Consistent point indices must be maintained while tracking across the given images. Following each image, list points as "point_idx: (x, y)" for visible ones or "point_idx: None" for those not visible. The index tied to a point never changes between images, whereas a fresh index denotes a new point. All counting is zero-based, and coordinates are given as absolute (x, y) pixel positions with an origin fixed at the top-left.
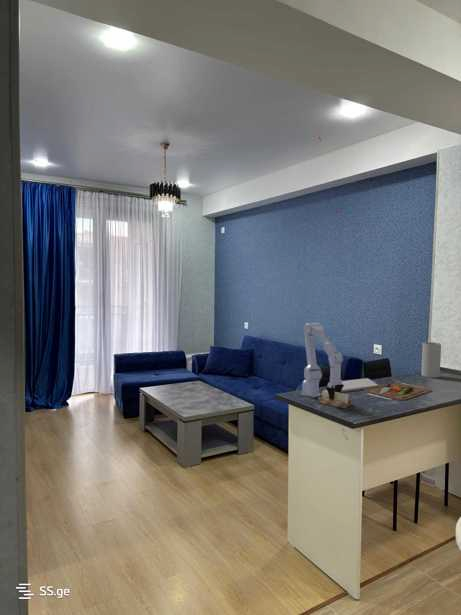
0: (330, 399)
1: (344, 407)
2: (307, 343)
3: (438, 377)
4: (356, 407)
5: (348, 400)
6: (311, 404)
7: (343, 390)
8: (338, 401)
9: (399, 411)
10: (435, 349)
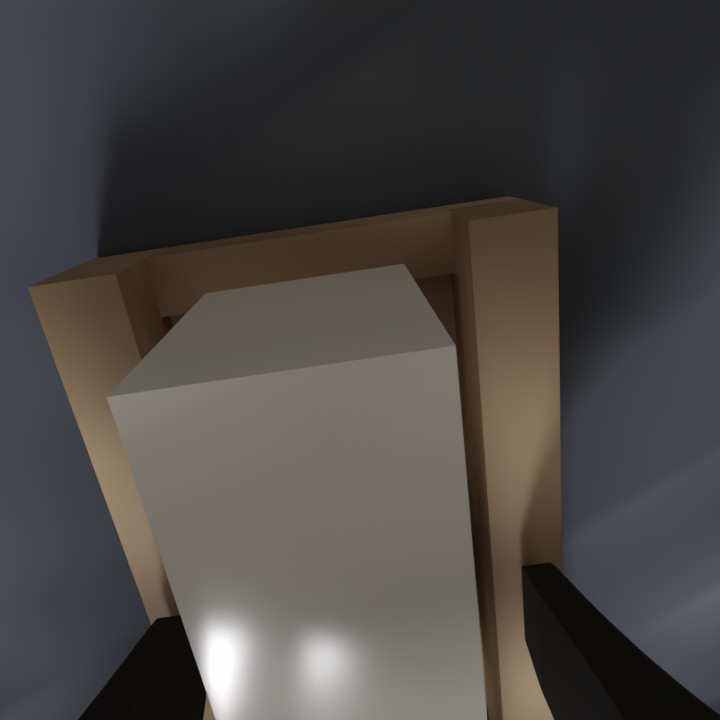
0: (497, 628)
1: (507, 197)
2: None
3: None
4: (174, 14)
5: (139, 331)
6: (713, 705)
7: None
8: (515, 423)
9: None
10: None
